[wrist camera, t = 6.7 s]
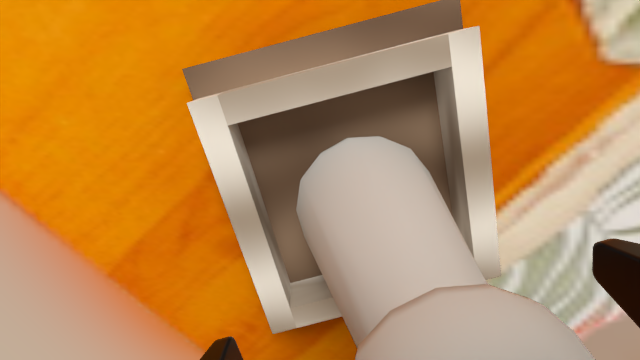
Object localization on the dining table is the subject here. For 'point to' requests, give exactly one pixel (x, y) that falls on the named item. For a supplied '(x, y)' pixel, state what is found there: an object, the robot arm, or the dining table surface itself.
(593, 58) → the dining table surface
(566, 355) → the salt shaker
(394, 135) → the shaker stand
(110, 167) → the dining table surface
